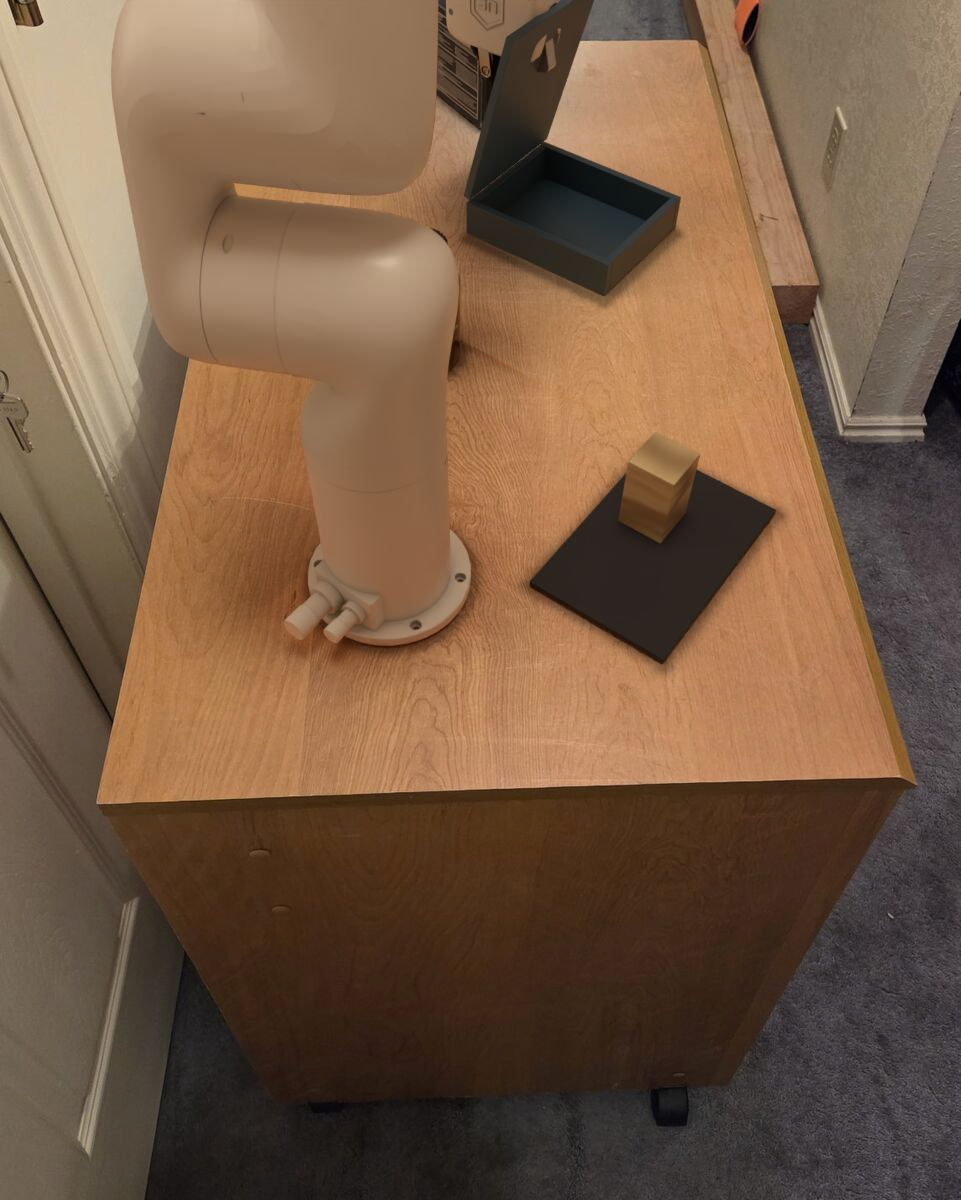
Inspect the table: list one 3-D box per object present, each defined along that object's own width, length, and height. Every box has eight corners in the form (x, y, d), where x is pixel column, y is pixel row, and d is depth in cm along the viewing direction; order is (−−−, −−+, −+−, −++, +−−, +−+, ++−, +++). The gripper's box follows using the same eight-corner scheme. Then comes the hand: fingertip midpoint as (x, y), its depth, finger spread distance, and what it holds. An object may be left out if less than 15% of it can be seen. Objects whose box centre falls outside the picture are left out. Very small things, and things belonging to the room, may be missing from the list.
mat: (662, 664, 77) (663, 659, 76) (529, 585, 81) (529, 581, 80) (774, 514, 85) (776, 509, 85) (649, 450, 89) (650, 445, 89)
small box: (527, 114, 120) (531, 20, 112) (480, 131, 118) (481, 37, 109) (475, 74, 125) (475, -19, 117) (430, 90, 123) (426, -3, 115)
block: (660, 544, 83) (674, 485, 77) (617, 521, 84) (628, 461, 78) (685, 513, 84) (700, 453, 79) (643, 491, 86) (655, 430, 80)
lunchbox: (674, 234, 107) (681, 197, 104) (603, 302, 101) (608, 265, 97) (541, 178, 113) (543, 141, 109) (466, 239, 106) (466, 202, 103)
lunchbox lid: (600, -19, 94) (593, -24, 94) (513, 42, 87) (505, 36, 87) (547, 139, 109) (541, 134, 109) (469, 200, 102) (463, 195, 103)
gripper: (409, -103, 87) (419, 107, 102) (557, -56, 82) (544, 159, 97) (463, -132, 91) (464, 76, 106) (608, -88, 86) (588, 124, 101)
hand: (503, 115), depth 102 cm, fingers closed
